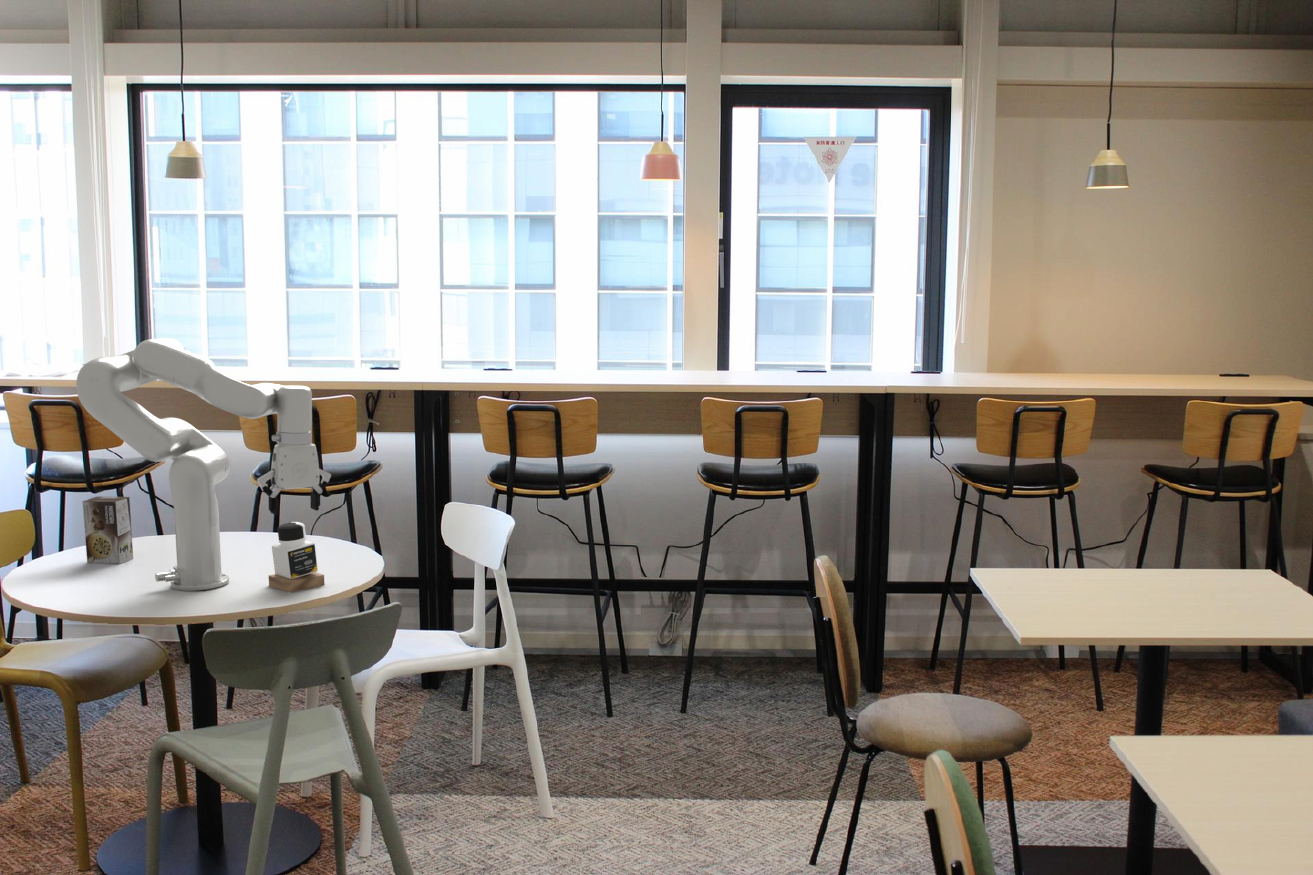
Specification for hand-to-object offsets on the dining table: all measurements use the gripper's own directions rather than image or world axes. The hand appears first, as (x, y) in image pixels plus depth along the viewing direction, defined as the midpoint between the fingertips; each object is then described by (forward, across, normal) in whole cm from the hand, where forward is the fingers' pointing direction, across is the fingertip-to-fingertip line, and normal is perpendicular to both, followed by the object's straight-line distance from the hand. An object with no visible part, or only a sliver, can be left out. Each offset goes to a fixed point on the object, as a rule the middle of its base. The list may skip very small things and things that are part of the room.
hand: (294, 511), depth 252 cm
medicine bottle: (+15, 0, 0) cm, 15 cm away
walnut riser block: (+18, 0, -1) cm, 18 cm away
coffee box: (+20, -27, +51) cm, 61 cm away
